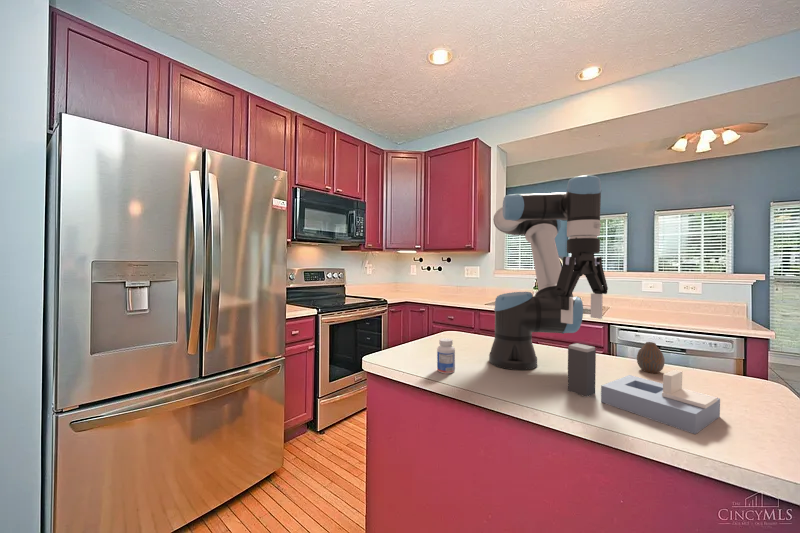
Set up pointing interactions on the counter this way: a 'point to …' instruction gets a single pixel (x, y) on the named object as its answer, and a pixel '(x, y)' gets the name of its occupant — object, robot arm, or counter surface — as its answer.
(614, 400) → the socket board
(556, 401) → the counter surface
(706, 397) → the shutter
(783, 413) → the counter surface
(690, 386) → the counter surface
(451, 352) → the pill bottle
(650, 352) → the vase
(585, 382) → the plug
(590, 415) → the counter surface
